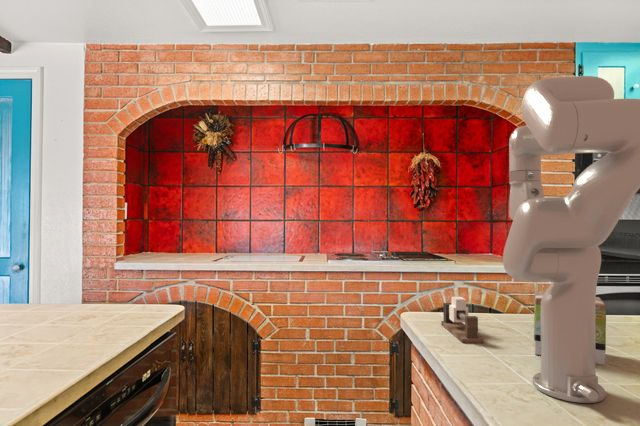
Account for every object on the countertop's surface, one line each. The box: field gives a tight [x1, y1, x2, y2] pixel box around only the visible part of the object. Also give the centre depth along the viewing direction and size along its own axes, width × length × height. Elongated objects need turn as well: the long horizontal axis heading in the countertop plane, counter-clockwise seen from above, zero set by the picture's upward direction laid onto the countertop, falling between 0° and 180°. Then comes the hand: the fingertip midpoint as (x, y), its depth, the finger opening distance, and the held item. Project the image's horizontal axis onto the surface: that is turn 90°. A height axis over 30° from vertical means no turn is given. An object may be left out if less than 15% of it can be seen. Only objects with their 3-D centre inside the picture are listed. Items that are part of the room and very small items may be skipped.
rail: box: [441, 302, 485, 344], centre depth 120 cm, size 18×6×7 cm, turn 1°
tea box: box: [533, 291, 607, 366], centre depth 102 cm, size 15×10×15 cm, turn 62°
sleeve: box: [449, 296, 469, 323], centre depth 121 cm, size 4×4×7 cm
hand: (525, 246), depth 106 cm, fingers closed
